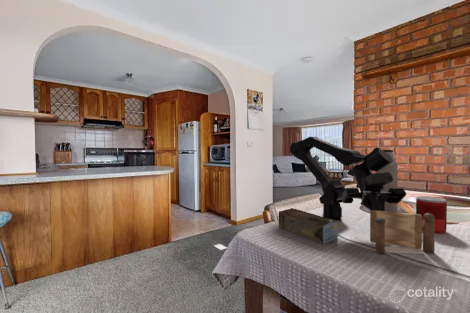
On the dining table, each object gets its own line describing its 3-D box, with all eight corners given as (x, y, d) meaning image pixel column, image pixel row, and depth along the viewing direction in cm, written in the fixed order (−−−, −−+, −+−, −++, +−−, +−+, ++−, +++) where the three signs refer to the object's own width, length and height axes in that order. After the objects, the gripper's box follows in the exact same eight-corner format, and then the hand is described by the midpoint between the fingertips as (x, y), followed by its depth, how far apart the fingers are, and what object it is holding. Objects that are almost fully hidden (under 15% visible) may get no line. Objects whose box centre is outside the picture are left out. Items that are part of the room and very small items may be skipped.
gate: (419, 246, 62) (420, 214, 62) (421, 248, 61) (421, 215, 61) (370, 240, 67) (370, 210, 67) (370, 242, 66) (370, 211, 66)
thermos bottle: (372, 214, 96) (372, 149, 96) (378, 211, 102) (378, 149, 101) (394, 218, 90) (395, 149, 90) (399, 214, 96) (399, 149, 95)
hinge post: (425, 253, 60) (426, 214, 60) (421, 249, 63) (421, 211, 62) (436, 254, 60) (436, 214, 59) (431, 250, 62) (431, 212, 62)
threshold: (386, 252, 61) (386, 250, 61) (380, 248, 64) (380, 246, 64) (424, 253, 60) (424, 252, 60) (417, 249, 63) (417, 247, 63)
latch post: (376, 254, 60) (377, 220, 60) (374, 250, 62) (374, 217, 62) (386, 255, 60) (386, 220, 59) (383, 251, 62) (383, 218, 62)
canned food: (452, 234, 73) (452, 201, 73) (424, 233, 75) (424, 200, 74) (436, 226, 81) (436, 196, 80) (411, 225, 82) (411, 195, 82)
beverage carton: (323, 245, 67) (323, 223, 66) (277, 227, 83) (277, 210, 82) (338, 239, 71) (338, 218, 71) (292, 223, 87) (292, 206, 87)
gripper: (344, 164, 75) (361, 204, 64) (402, 163, 74) (429, 204, 63) (335, 184, 83) (349, 223, 72) (388, 183, 82) (409, 223, 71)
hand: (383, 218), depth 69 cm, fingers closed
